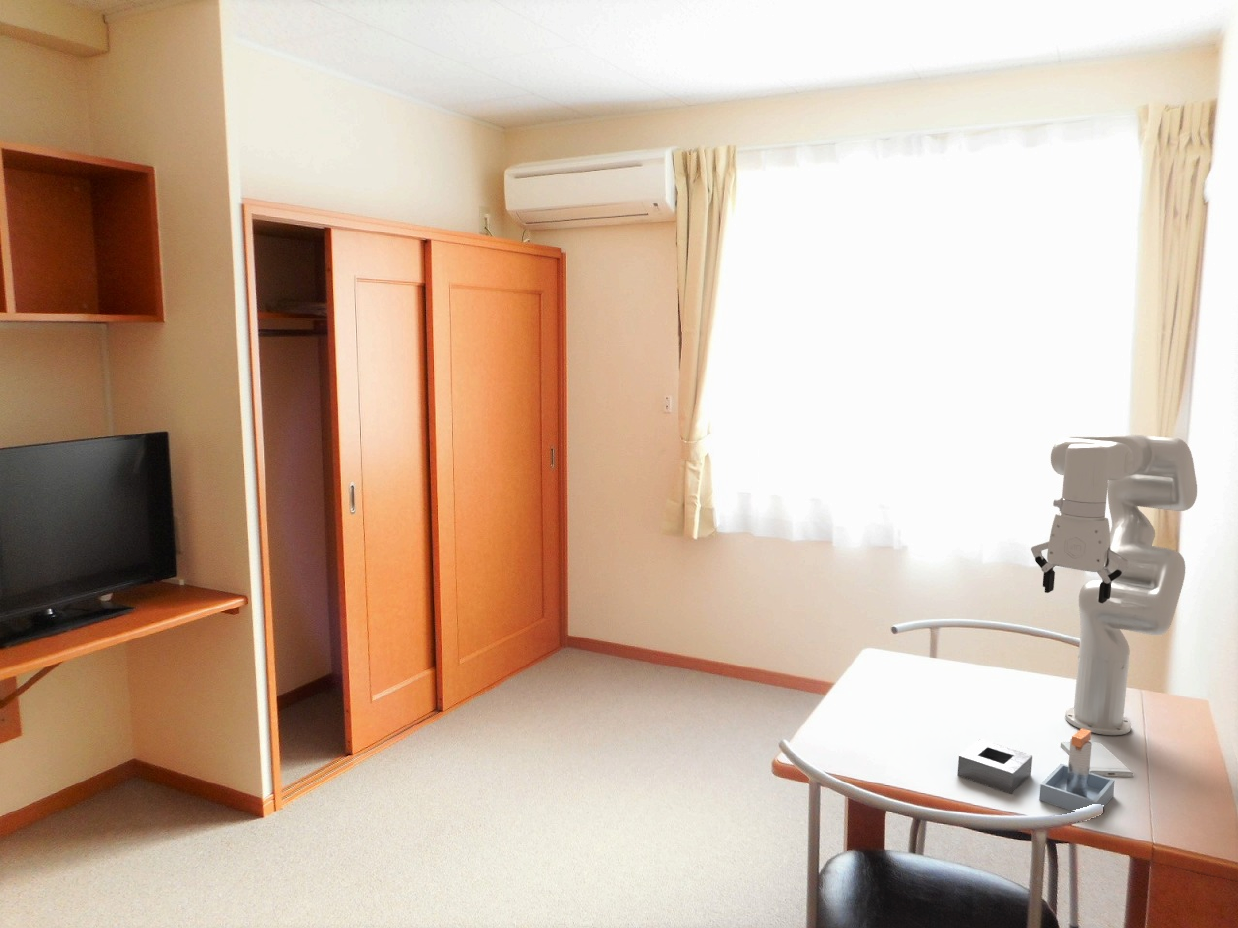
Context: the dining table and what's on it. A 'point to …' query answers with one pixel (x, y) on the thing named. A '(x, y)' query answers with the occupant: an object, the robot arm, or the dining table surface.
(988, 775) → the block
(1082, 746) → the pin
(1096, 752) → the hard drive
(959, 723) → the dining table surface
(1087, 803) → the tray
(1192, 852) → the dining table surface
